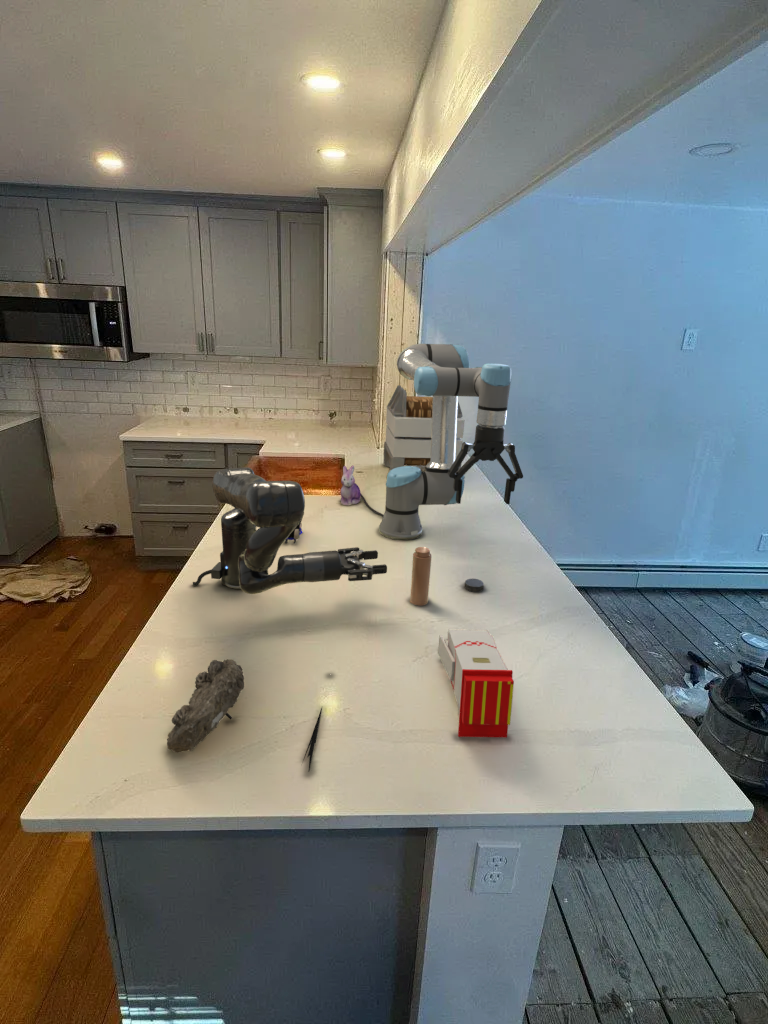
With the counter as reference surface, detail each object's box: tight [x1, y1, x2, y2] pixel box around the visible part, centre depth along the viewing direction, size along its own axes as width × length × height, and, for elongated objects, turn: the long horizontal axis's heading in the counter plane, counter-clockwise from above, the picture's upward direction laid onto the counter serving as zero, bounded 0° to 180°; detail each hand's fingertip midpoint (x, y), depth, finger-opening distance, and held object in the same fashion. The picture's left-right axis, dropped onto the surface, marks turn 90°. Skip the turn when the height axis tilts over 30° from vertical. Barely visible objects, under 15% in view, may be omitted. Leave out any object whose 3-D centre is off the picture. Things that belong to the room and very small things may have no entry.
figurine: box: [339, 464, 362, 506], centre depth 227 cm, size 9×10×15 cm
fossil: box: [166, 658, 245, 754], centre depth 106 cm, size 22×10×15 cm
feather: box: [301, 673, 332, 771], centre depth 108 cm, size 2×28×2 cm
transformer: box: [383, 384, 465, 471], centre depth 268 cm, size 34×33×41 cm
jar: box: [409, 546, 432, 607], centre depth 152 cm, size 5×5×15 cm
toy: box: [437, 628, 515, 738], centre depth 117 cm, size 12×13×30 cm
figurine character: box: [284, 513, 305, 545], centre depth 191 cm, size 7×8×15 cm
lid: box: [464, 578, 485, 593], centre depth 163 cm, size 5×5×2 cm
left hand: (381, 561), depth 147 cm, fingers open, 8 cm apart
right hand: (482, 502), depth 155 cm, fingers open, 13 cm apart
